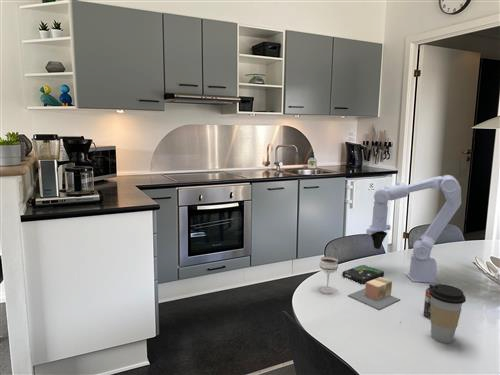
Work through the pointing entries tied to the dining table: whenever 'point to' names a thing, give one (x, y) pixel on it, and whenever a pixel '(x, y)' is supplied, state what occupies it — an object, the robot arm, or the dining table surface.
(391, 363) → the dining table surface
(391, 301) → the mat
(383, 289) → the maple block
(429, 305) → the supplement bottle
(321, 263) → the wineglass
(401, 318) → the dining table surface
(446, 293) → the coffee cup
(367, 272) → the disk drive
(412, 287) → the dining table surface
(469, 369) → the dining table surface
